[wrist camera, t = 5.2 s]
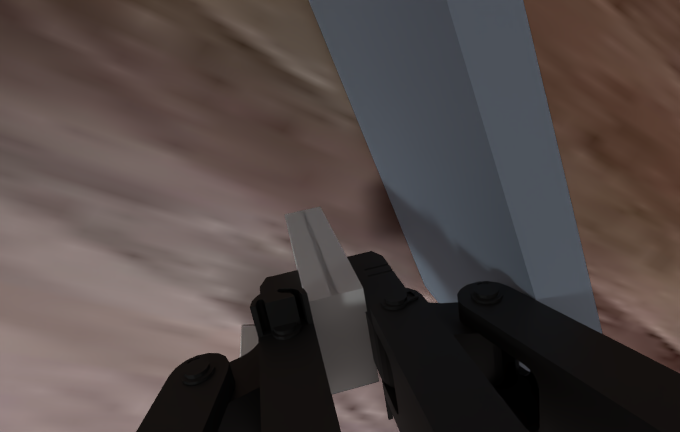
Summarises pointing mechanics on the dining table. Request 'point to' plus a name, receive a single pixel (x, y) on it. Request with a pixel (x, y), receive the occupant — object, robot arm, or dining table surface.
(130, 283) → the dining table surface
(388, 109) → the door
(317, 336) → the robot arm
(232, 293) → the dining table surface
